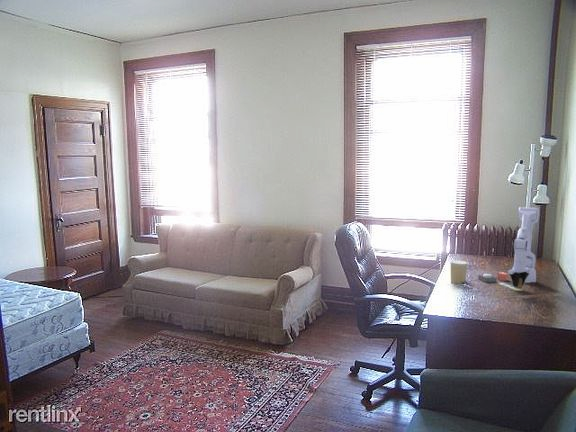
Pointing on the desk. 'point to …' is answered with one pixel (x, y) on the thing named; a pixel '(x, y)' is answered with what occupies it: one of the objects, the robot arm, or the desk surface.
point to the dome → (487, 275)
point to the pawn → (519, 283)
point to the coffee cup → (458, 271)
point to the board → (493, 279)
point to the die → (502, 276)
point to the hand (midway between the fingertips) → (518, 285)
